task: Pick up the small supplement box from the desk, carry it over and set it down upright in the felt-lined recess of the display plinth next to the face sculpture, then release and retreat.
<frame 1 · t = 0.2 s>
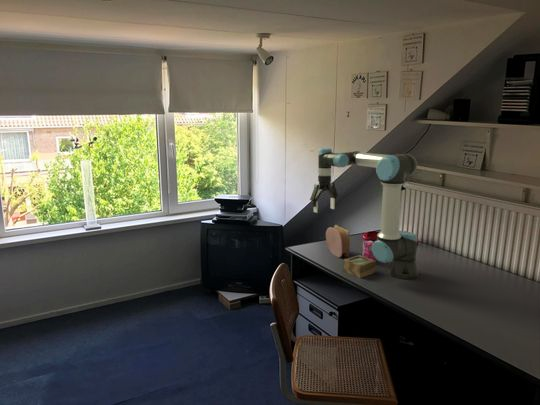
hand: (324, 210, 261), 28 cm above the table, tool pointing down, fingers open, 13 cm apart
supplement box: (369, 261, 255), on the table
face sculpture: (337, 254, 268), on the table
display plinth: (359, 272, 239), on the table
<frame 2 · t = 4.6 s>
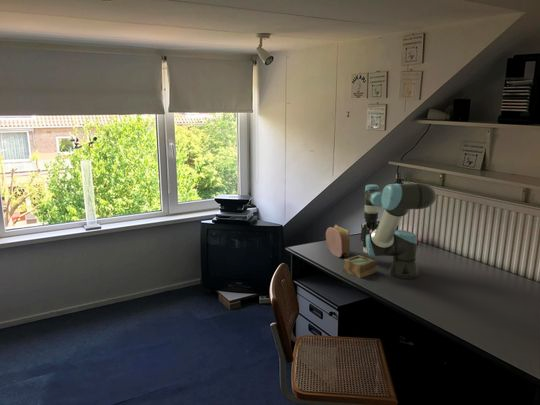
hand: (369, 251, 253), 6 cm above the table, tool pointing down, fingers closed on supplement box, 6 cm apart
supplement box: (369, 252, 253), point 6 cm above the table, touching gripper
everything else where it was.
when the fingers open (8 cm above the table, at t = 8.3 s): supplement box drops 1 cm, resting on display plinth.
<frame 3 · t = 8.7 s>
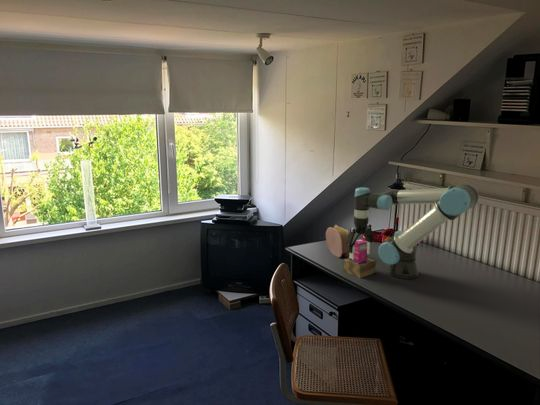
hand: (359, 255, 237), 9 cm above the table, tool pointing down, fingers open, 12 cm apart
supplement box: (359, 261, 238), point 6 cm above the table, touching display plinth
everything else where it was.
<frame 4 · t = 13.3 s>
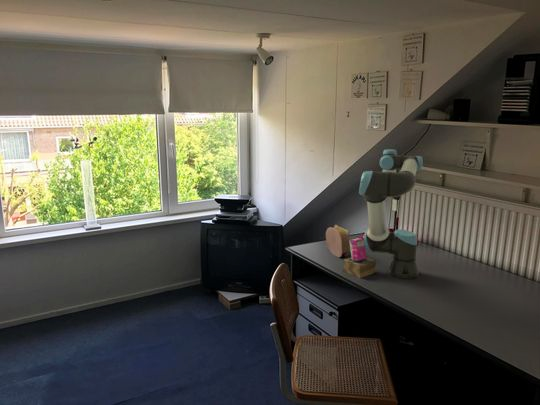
hand: (386, 212, 259), 27 cm above the table, tool pointing down, fingers open, 13 cm apart
supplement box: (359, 260, 238), point 7 cm above the table, touching arm, display plinth
everything else where it was.
at the end: supplement box inside the target area on the display plinth (0.2 cm from its centre), point 6.6 cm above the display plinth's base; supplement box tilted 14°; the gripper is holding nothing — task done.
